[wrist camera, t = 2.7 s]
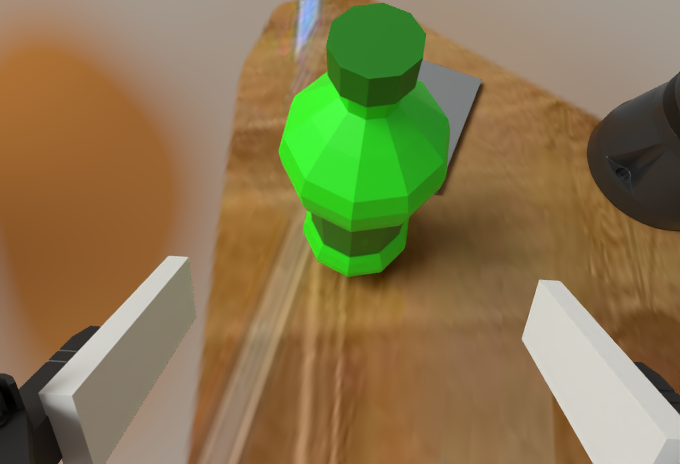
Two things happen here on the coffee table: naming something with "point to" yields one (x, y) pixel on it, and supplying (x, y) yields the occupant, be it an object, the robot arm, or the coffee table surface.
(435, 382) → the coffee table surface
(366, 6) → the plastic bottle
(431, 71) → the rubber coaster
